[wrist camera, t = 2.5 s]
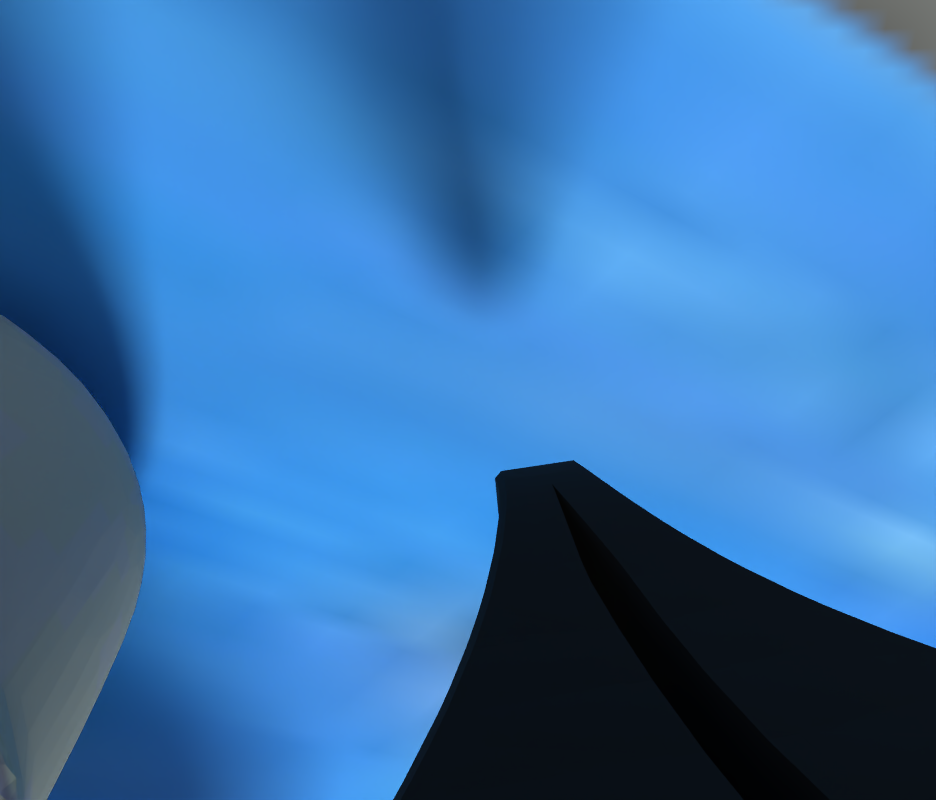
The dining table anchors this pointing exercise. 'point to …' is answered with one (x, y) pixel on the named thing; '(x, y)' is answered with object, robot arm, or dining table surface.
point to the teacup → (58, 560)
